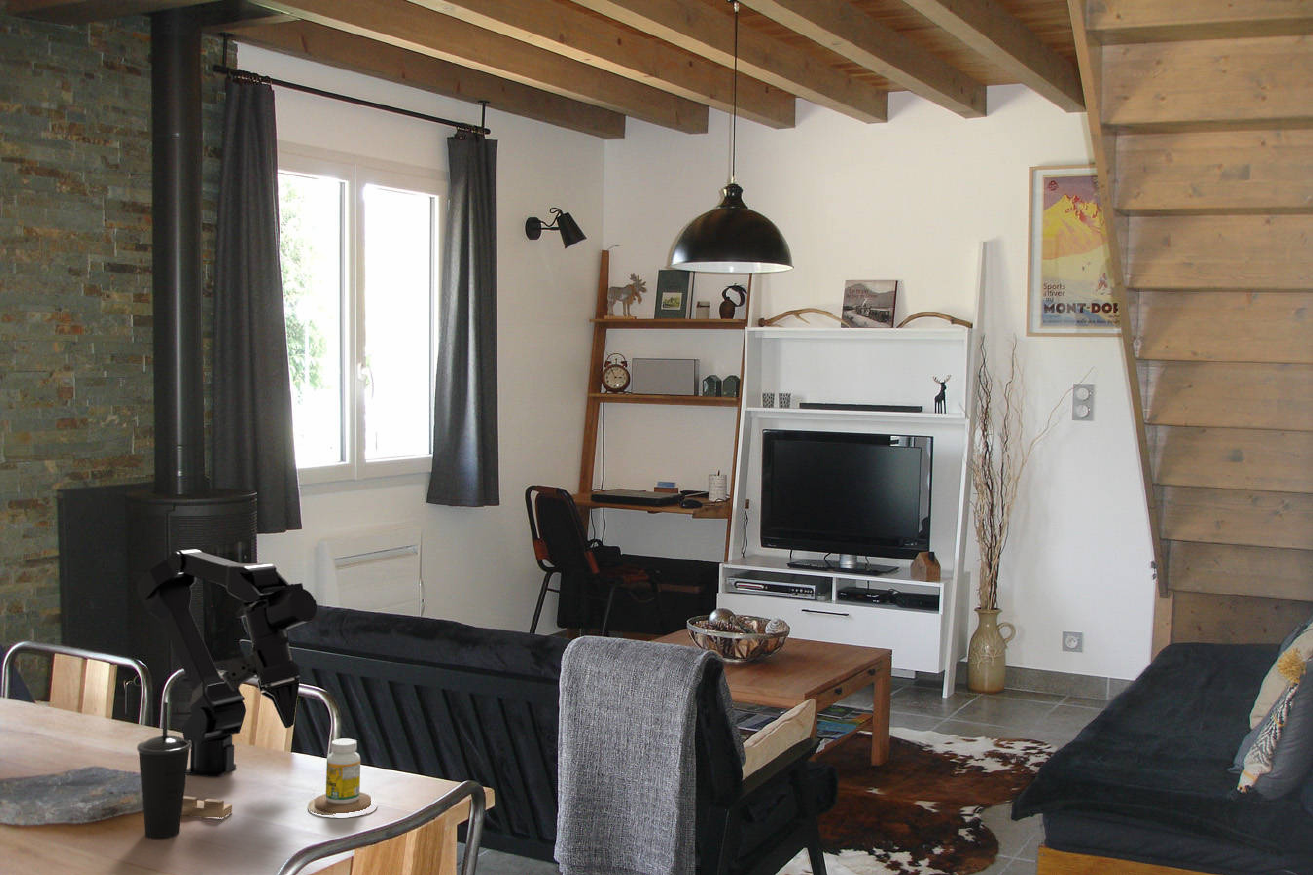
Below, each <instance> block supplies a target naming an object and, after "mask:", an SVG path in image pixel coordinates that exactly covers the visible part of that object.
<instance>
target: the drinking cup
mask: <svg viewBox="0 0 1313 875" xmlns="http://www.w3.org/2000/svg"><path fill="white" fill-rule="evenodd" d="M162 711H163V712H162V735H157V736H153V737H150V738H149V739H147V740H144V741H143V742H142V741H141V742H140V743H139V744H137V747H136V750H137V751H138V754H139V766H140V767H139V768H140V781H141V784H140V785H141V797H142V811H143V825H144V827H143V828H144V836H145V837H146V838H147V839H150V840H165V839H171V838H173V837H176V836H178V835H179V833H180V830H181V829H180V828H181V821H182V815H181V813H182V805H183V797H184V796H185V788H186V780H187V774H186V772H187V769H188V763H189V757H190V756H189V755H190V750H191V746H192V743H191V741H189V740H186V739H184V738H183V737H182V736H181V737H180V736H177V735H171V734H168V720H169V702H168V701H167V702H166V701H165V702H163V709H162Z"/></svg>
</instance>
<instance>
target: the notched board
mask: <svg viewBox="0 0 1313 875" xmlns="http://www.w3.org/2000/svg"><path fill="white" fill-rule="evenodd" d="M224 802H225V801H224V800H221V799H211V798H207V799H205V800H198V797H197V796H196V797H194V796H187V795H184V797H183V805H182V813H181V816H185V815H189V816H188V817H193V816H201V817H200V818H202V817H219V818H220V817H221V818H222V817H225V816H226V815H228V814H229V813H231V812H232V813H233V804H230V803H224Z"/></svg>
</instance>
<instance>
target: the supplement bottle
mask: <svg viewBox="0 0 1313 875" xmlns="http://www.w3.org/2000/svg"><path fill="white" fill-rule="evenodd" d="M357 748H358V747H357V740H356V739H352V738H337V739H333V740H332V741H331V744H330V750H331V751H332V752H331V753H329V754H328V756H327V758H326V769H325V770H326V774H325V794H326V800H327V801H328V802H330V803H333V804H349V803H353V802H355V801H357V800H358V798H359V792H360V784H361V782H360V779H361V756H360V754H359V753H358V752H357Z"/></svg>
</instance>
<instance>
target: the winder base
mask: <svg viewBox="0 0 1313 875" xmlns="http://www.w3.org/2000/svg"><path fill="white" fill-rule="evenodd" d="M371 797H372V796H370V795H369V794H367V793H364V792H360V791H359V798H358V800H357V801H355V802H353V803H349V804H333V803H330V802H328V801H327V800H326V793H324V794H321V795H319V796H317V797H316V798H314V799H313V800H311V801H310V802H308V805H307V809H308V808H309V809H310V811H312V812H314V813H317V814H321V815H333V814H336V813H349V812H355V811H360V810H363V809H366V808H367V807H369V806H370V805H371ZM333 816H334V815H333Z"/></svg>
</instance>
